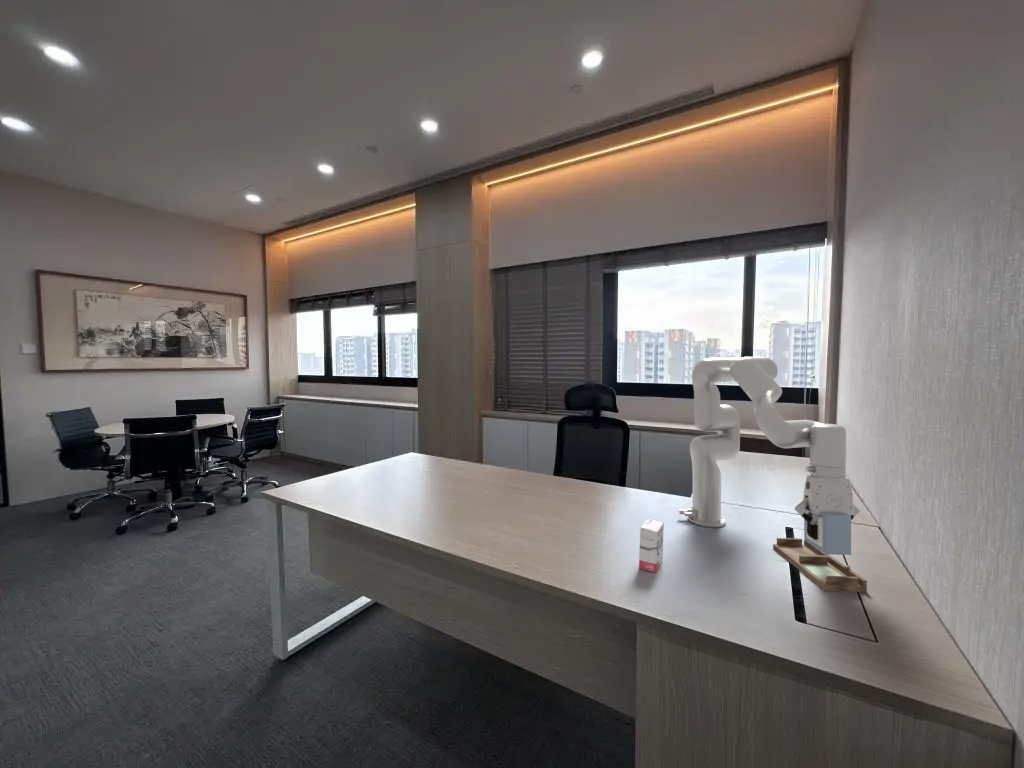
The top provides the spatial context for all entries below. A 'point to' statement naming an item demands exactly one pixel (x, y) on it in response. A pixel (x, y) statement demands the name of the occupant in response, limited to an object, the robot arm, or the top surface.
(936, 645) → the top surface
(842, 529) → the blue-grey rectangular block
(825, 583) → the brown wooden shallow tray
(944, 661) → the top surface
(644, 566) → the ink box
